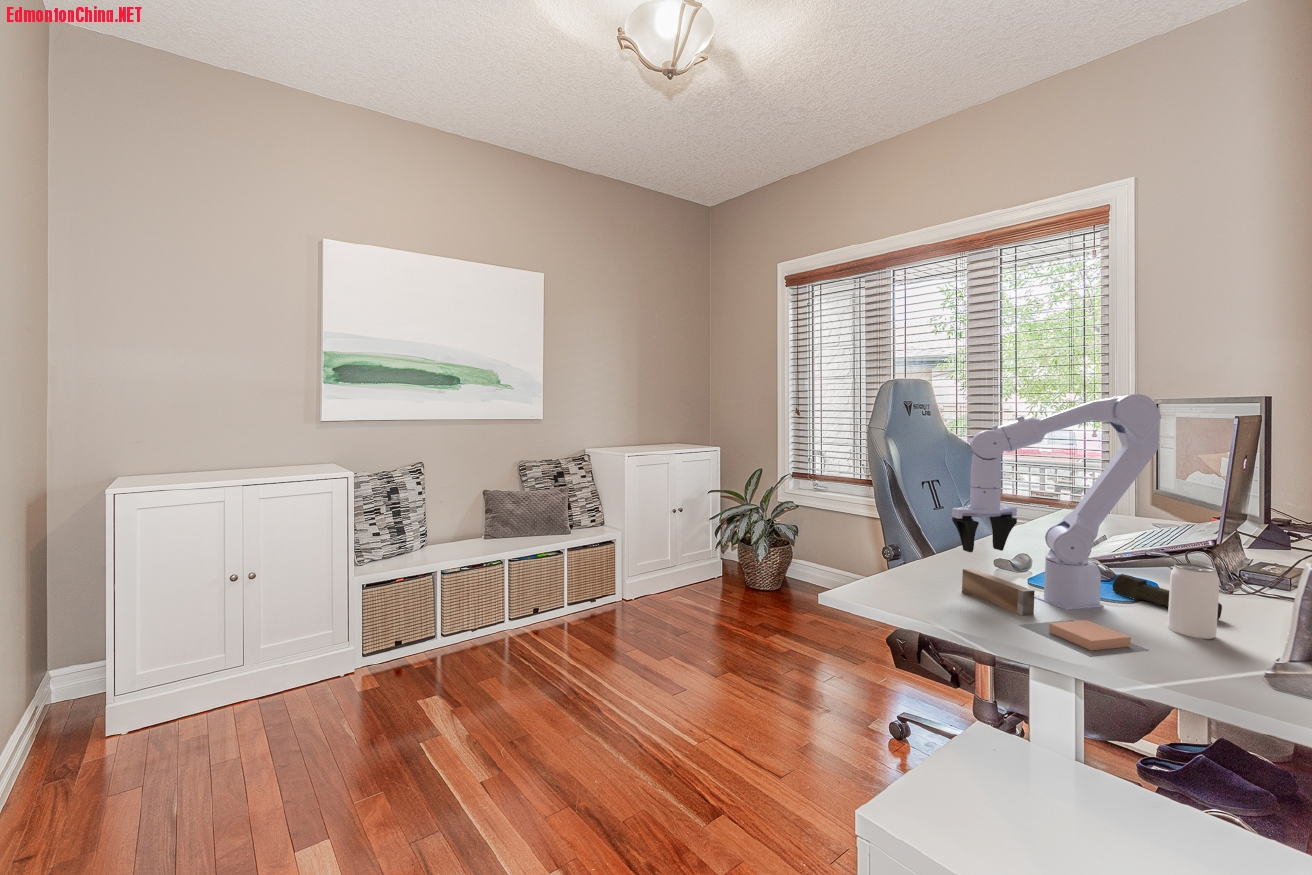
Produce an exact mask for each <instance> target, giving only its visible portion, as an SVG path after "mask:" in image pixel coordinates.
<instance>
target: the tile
mask: <svg viewBox="0 0 1312 875" xmlns="http://www.w3.org/2000/svg"><path fill="white" fill-rule="evenodd" d="M1049 633H1052V634H1054V635H1056V636H1058V637H1061V638H1063V639H1065V640H1068V641H1070V642H1072V643H1075V644H1077V645H1079V646H1082V647H1084V648H1086V649H1089V650H1091V651H1092V650H1101V649H1111V648H1120V647H1130V643H1132V642H1131V639H1132V637H1131V636H1129V635H1127V634H1124V633H1122V632H1119V631H1116V630H1114V629H1112V628H1108V627H1105V626H1104V625H1100V624H1098V623H1095V622H1092V621H1090V620H1088V619H1083V620H1074V621H1069V622H1058V623H1049Z"/></svg>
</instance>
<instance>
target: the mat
mask: <svg viewBox="0 0 1312 875" xmlns="http://www.w3.org/2000/svg"><path fill="white" fill-rule="evenodd" d="M1069 621H1075V620H1074V619H1070V620H1069V619H1068V620H1058V621H1046V622H1035V623H1023V624H1019V626H1020V627H1022V628H1024V629H1027V630H1028V631H1031V632H1034V633H1036V634H1037V635H1040V636H1043V637H1044V638H1047V639H1049V640H1051V641H1053V642H1056V643H1058V644H1061V645H1063V646H1065V647H1067V648H1069V649H1072V650H1073V651H1077V652H1079V653H1081V654H1083V655H1086V656H1087V657H1098V656H1101V657H1102V656H1109V655H1118V654H1119V655H1121V654H1127V653H1136V652H1137V653H1138V652H1144V651H1145V652H1146V651H1149V649H1148V648H1145V647H1142V646H1140V645H1137V644H1135V643H1133V642H1131V643H1130V647H1120V648H1111V649H1101V650H1092V651H1091V650H1089V649H1086V648H1084V647H1082V646H1079V645H1077V644H1075V643H1072V642H1070V641H1068V640H1065V639H1063V638H1061V637H1058V636H1056V635H1054V634H1052V633H1049V623H1058V622H1069Z"/></svg>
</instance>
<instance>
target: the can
mask: <svg viewBox="0 0 1312 875" xmlns="http://www.w3.org/2000/svg"><path fill="white" fill-rule="evenodd" d="M1173 566H1174V567H1173V569H1172V570H1171V572H1170V578H1169V579H1170V580H1169V607H1167V608H1168V610H1167V628H1168V630H1170V631H1172V632H1175V633H1177V634H1181V635H1184V636H1188V637H1193V638H1198V639H1200V640H1204V641H1205V640H1206V641H1207V640H1213V639H1214V638H1216V637H1217V628H1218V620H1217V615H1218V602H1219V598H1220V595H1219V593H1220V578H1219V576H1218V574H1217V569H1216V568H1214V567H1211V566H1207V565H1202V564H1197V563H1187V562H1176V563H1174V565H1173Z"/></svg>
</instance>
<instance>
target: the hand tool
mask: <svg viewBox="0 0 1312 875" xmlns="http://www.w3.org/2000/svg"><path fill="white" fill-rule="evenodd" d="M1112 591H1113V592H1114V593H1116V594H1118V593H1119V594H1118V595H1120V594H1122V595H1121V596H1123V595H1124V596H1123V597H1126V596H1127V597H1126V598H1129V597H1131V598H1134V599H1136V600H1135V601H1145V602H1146V601H1147V602H1151V603H1154V604H1157V605H1161V606H1164V607H1167V608H1169V591H1170V589H1169V590H1168V589H1165V588H1161V587H1158V586H1155V585H1152V584H1150V583H1149V584H1148V583H1147V580H1146V579H1143V578H1138V577H1135V576H1133V575H1128V574H1123V573H1120V574H1118V575H1117V576H1115V578H1114V580H1113V582H1112ZM1131 598H1130V599H1131ZM1134 599H1133V600H1134ZM1222 611H1223V606H1222V604H1221V603H1220V601H1218V615H1217V621H1219V620H1220V618H1221V615H1222Z"/></svg>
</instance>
